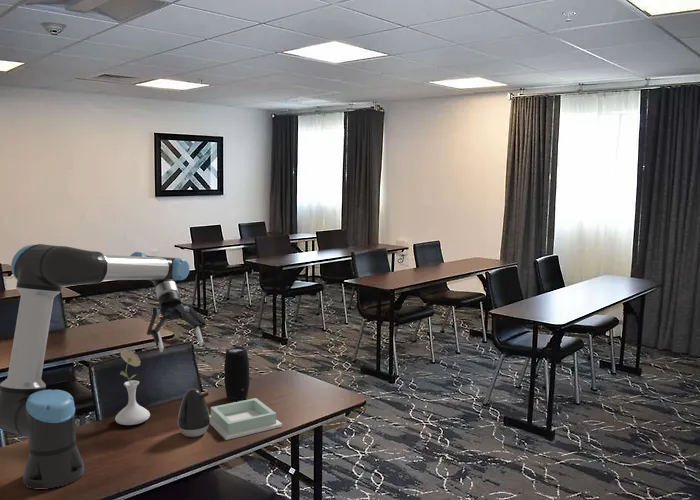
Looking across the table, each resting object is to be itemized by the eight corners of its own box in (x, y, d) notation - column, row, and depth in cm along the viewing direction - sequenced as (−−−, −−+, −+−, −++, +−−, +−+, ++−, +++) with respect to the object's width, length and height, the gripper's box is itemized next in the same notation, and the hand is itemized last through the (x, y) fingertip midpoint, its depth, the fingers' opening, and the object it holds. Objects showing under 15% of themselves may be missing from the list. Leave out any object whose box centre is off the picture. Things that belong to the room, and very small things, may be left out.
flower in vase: (156, 421, 200) (153, 351, 198) (123, 431, 192) (120, 357, 190) (139, 411, 210) (136, 343, 207) (107, 420, 202) (104, 349, 199)
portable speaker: (250, 401, 220) (249, 351, 218) (225, 403, 218) (224, 352, 215) (248, 393, 228) (247, 344, 226) (224, 395, 226) (223, 346, 224)
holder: (225, 440, 186) (225, 426, 186) (205, 419, 203) (205, 406, 202) (282, 426, 197) (282, 413, 196) (258, 407, 214) (258, 395, 213)
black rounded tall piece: (202, 442, 185) (201, 395, 183) (172, 439, 187) (171, 393, 185) (215, 429, 195) (215, 385, 193) (187, 426, 197) (186, 382, 195)
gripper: (200, 299, 219) (215, 347, 208) (131, 306, 205) (143, 358, 194) (204, 287, 214) (219, 336, 203) (133, 294, 200) (146, 346, 189)
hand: (182, 347), depth 199 cm, fingers open, 13 cm apart
